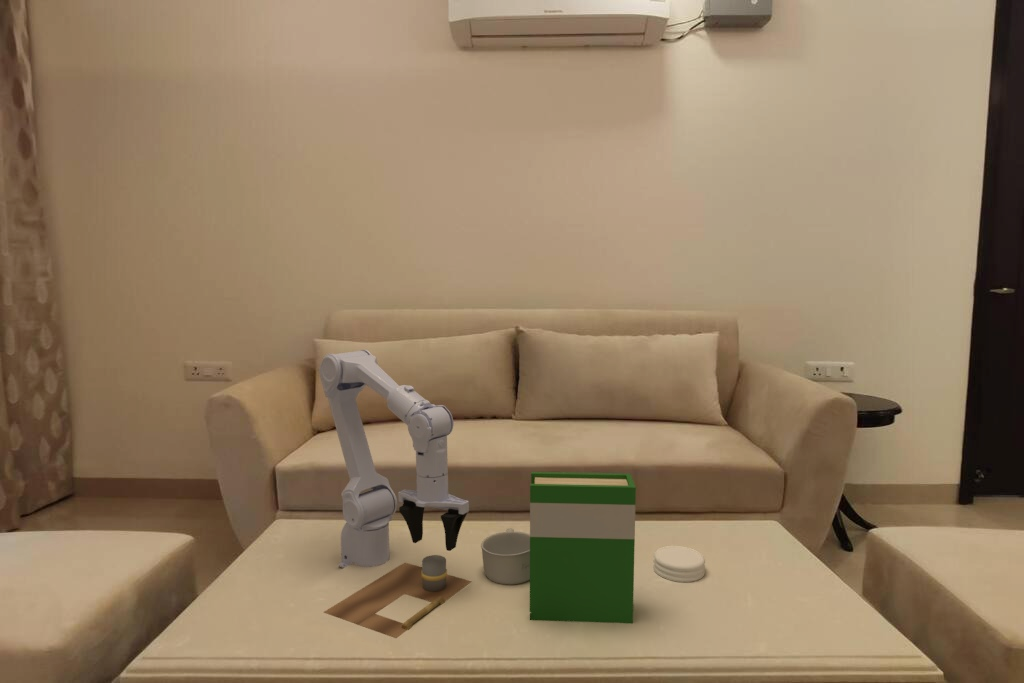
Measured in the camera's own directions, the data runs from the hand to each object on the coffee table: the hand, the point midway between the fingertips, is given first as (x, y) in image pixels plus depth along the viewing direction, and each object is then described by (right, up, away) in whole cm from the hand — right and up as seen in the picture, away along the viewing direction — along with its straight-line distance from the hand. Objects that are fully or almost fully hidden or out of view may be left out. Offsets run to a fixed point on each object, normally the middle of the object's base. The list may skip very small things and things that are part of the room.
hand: (434, 544), depth 121 cm
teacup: (+14, -9, +8) cm, 19 cm away
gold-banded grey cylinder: (0, -8, +1) cm, 8 cm away
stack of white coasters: (+48, -9, +11) cm, 50 cm away
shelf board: (-6, -10, -3) cm, 12 cm away
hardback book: (+26, -10, -5) cm, 29 cm away
